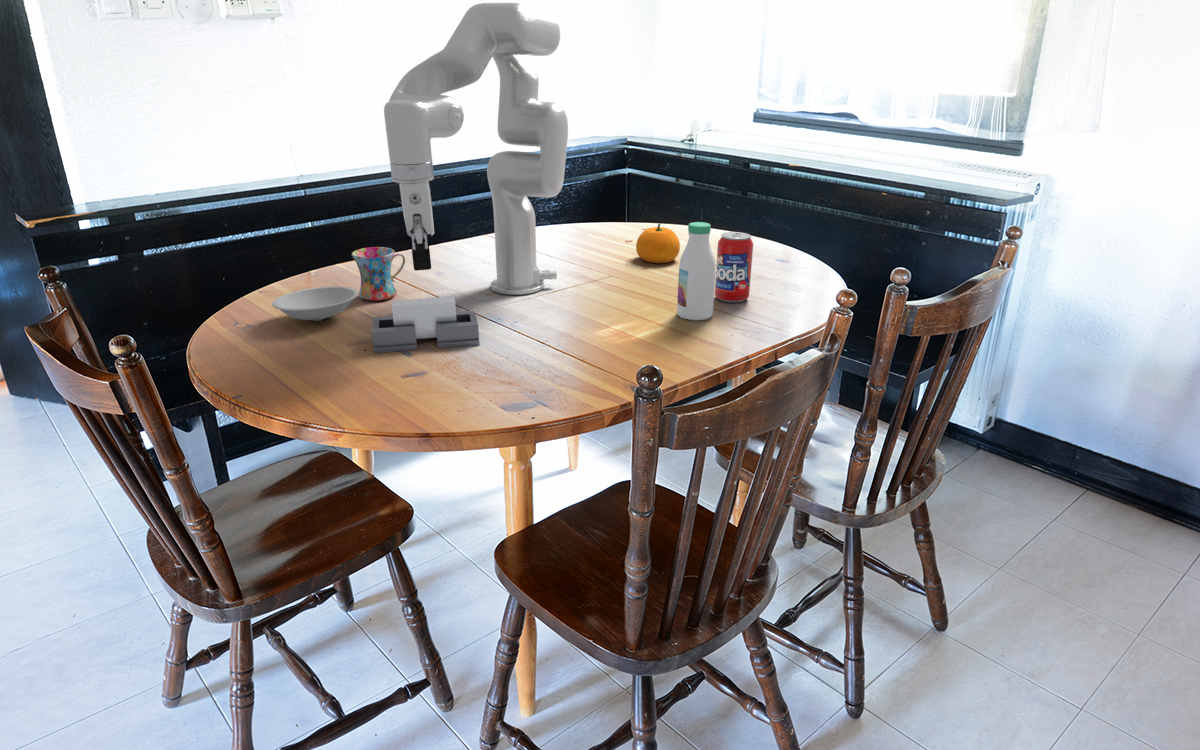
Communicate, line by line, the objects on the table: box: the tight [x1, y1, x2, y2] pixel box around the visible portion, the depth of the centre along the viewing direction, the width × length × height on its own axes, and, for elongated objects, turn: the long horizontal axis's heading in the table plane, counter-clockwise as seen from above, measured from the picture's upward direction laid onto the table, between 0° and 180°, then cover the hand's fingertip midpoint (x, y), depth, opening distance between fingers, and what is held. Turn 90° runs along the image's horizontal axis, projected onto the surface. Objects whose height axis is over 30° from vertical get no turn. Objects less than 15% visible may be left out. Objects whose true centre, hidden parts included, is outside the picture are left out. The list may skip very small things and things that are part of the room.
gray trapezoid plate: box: [391, 296, 457, 340], centre depth 156 cm, size 12×4×7 cm, turn 104°
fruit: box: [635, 223, 681, 264], centre depth 211 cm, size 12×12×10 cm
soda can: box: [714, 231, 754, 304], centre depth 179 cm, size 8×8×15 cm
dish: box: [271, 285, 359, 322], centre depth 167 cm, size 18×14×5 cm
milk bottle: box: [676, 221, 716, 321], centre depth 168 cm, size 8×8×20 cm
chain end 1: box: [371, 315, 418, 354], centre depth 155 cm, size 8×10×4 cm
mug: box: [351, 246, 406, 301], centre depth 181 cm, size 12×9×11 cm
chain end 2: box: [436, 310, 481, 349], centre depth 158 cm, size 8×10×4 cm
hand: (422, 261), depth 152 cm, fingers open, 9 cm apart
